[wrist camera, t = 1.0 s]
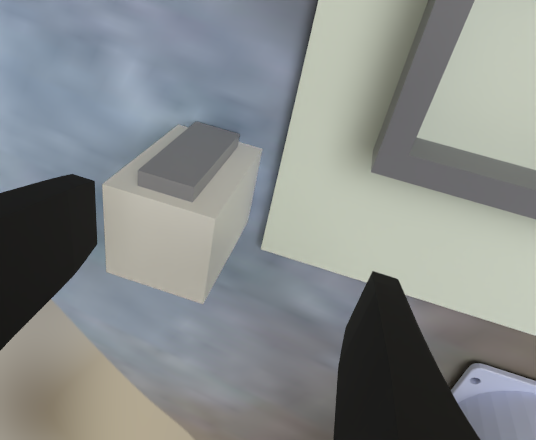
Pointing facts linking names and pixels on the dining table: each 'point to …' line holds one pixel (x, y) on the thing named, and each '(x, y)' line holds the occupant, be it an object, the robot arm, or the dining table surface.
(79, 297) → the dining table surface
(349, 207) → the socket board
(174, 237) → the plug
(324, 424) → the dining table surface
